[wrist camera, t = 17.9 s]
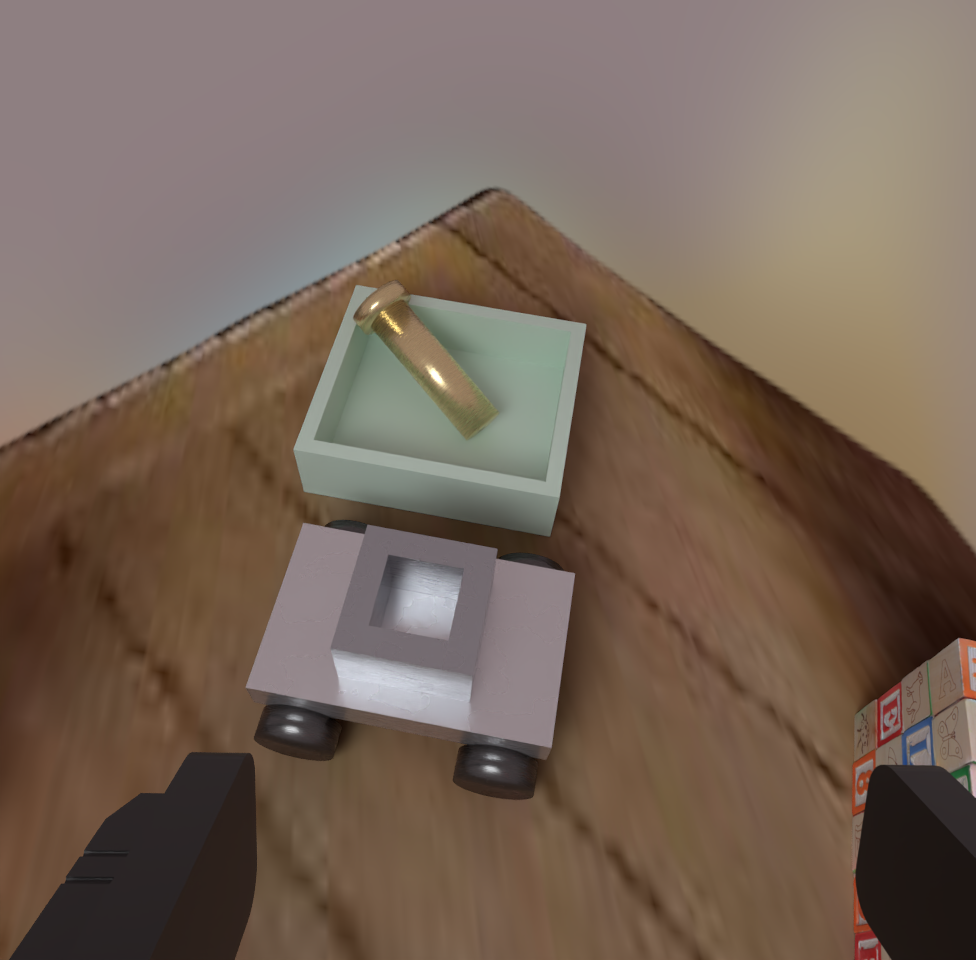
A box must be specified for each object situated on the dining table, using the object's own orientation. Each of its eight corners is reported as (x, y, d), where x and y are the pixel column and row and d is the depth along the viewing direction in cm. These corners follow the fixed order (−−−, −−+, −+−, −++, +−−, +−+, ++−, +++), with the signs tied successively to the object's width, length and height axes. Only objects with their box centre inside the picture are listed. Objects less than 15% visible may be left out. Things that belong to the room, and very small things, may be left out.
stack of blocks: (986, 1193, 38) (1195, 1262, 27) (848, 1151, 38) (1002, 1203, 28) (956, 738, 49) (1095, 665, 39) (851, 711, 50) (960, 632, 39)
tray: (304, 491, 56) (293, 449, 52) (361, 332, 64) (356, 284, 60) (549, 536, 55) (559, 497, 51) (576, 369, 63) (586, 324, 59)
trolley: (256, 749, 46) (217, 692, 38) (323, 547, 54) (302, 462, 45) (534, 805, 46) (557, 759, 37) (564, 592, 53) (589, 514, 44)
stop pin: (450, 454, 56) (344, 328, 57) (482, 432, 60) (381, 313, 60) (483, 420, 54) (371, 288, 54) (515, 399, 57) (409, 274, 57)
